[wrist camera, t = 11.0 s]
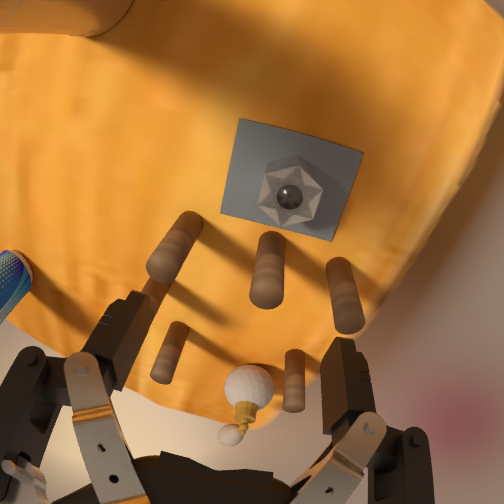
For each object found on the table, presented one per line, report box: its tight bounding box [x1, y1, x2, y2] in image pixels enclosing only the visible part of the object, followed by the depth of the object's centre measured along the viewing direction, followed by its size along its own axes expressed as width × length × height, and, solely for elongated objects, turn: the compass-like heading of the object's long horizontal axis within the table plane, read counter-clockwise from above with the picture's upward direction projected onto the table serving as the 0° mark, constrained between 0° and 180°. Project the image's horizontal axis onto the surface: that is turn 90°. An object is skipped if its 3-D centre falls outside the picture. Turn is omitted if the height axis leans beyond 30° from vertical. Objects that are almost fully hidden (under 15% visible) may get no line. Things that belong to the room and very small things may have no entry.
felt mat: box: [220, 118, 363, 241], centre depth 28 cm, size 10×12×1 cm
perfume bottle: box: [218, 365, 274, 446], centre depth 40 cm, size 8×10×12 cm
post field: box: [141, 211, 365, 413], centre depth 32 cm, size 20×23×9 cm
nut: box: [257, 155, 323, 227], centre depth 26 cm, size 6×5×4 cm
